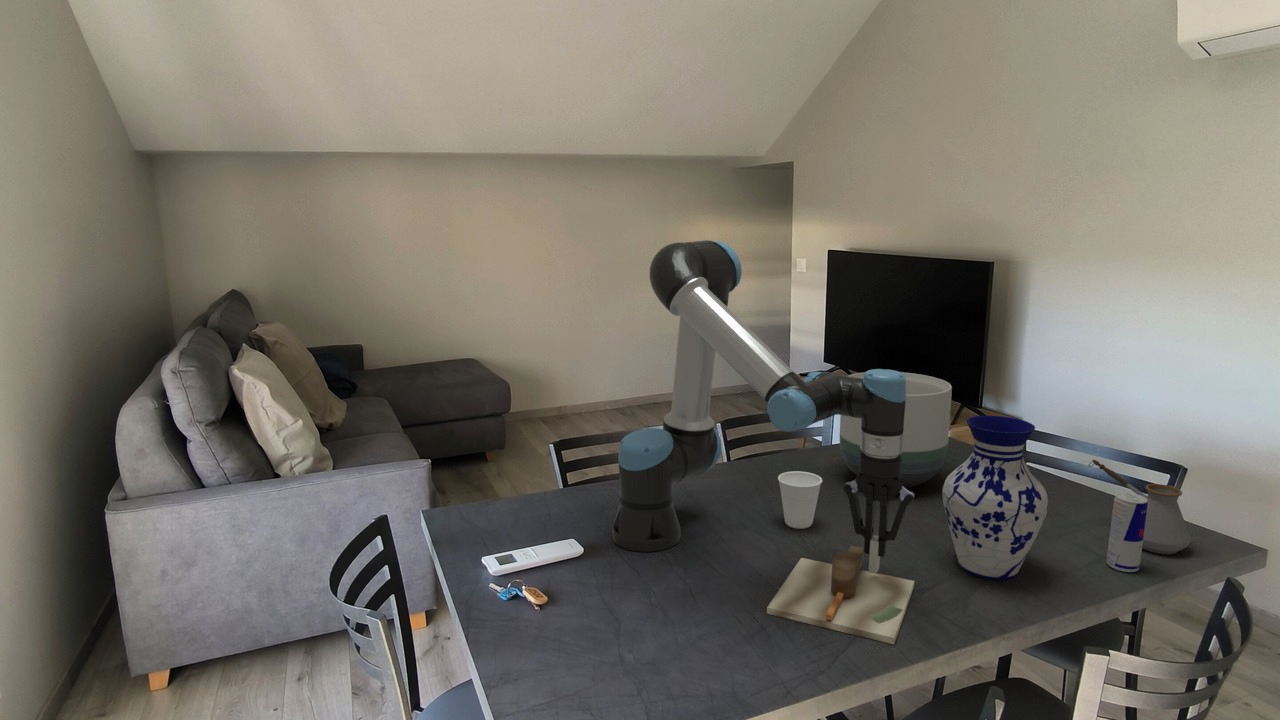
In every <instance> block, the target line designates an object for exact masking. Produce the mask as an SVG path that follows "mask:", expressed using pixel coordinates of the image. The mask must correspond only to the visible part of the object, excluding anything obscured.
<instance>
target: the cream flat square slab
mask: <svg viewBox="0 0 1280 720" xmlns="http://www.w3.org/2000/svg"><path fill="white" fill-rule="evenodd" d="M868 571H869V570H863V569H860V570H859V572H858V574H857V576H856V594H855V595H854V596H853V597H849V598H843V599H842V601H841V603H840V604H839V606H838V608H837V610H836V612H835V614H834V616H833V618H832V620H829V619H826V613H827V611H828V610H829V608H830V606H831V604H832V602H833V600H834V598H835V596H836V595H834V594H833V593H832V592H831V579H832V563H829V562H824V561H819V560H814V559H809V558H803V557H800V559H799V560H798V562H797V563H796V565H795V566H794V567H793V569H792V570H791V572H790V574H789V575H788V576H787V578H785V580H784V582H783V584H782V585H781V586H780V588H779V589H778V591H777V592H776V593H775V595H774V597H772V600H771V601H770V603H769V604H768V605H767V607H766V614H768V615H772V616H775V617H780V618H783V619H788V620H791V621H797V622H800V623H804V624H809V625H812V626H817V627H820V628H824V629H828V630H832V631H838V632H842V633H845V634H848V635H853V636H857V637H861V638H865V639H870V640H872V641H873V640H874V641H879V642H882V643H885V644H889V645H895V643H896V640H897V637H898V635H899V632H900V629H901V626H902V623H903V619H904V617H905V613H906V611H907V610H908V609H907V608H908V605H909V602H910V600H911V596H912V594H913V590H914V589H915V580H911V579H906V578H902V577H897V576H892V575H887V574H884V573H878V572H877V574H875V573H870V572H868Z"/></svg>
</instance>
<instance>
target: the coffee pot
mask: <svg viewBox="0 0 1280 720" xmlns="http://www.w3.org/2000/svg"><path fill="white" fill-rule="evenodd" d="M1092 463H1093V464H1092ZM1091 464H1092V465H1091ZM1094 465H1095V466H1098V467H1099V469H1100V470H1102V471H1104V472H1105V473H1106V474H1107V475H1108V476H1110V477H1111V478H1112V479H1113V480H1115V481H1116V482H1118V483H1121V485H1123V486H1125V487H1127V488H1128V489H1130V490H1131V491H1132V493H1133V492H1134V494H1138V495H1141V496H1143V497H1145V498H1146V499H1147V504H1148V506H1147V514H1146V522H1145V529H1144V537H1143V545H1142V550H1145V551H1147V552H1151V553H1156V554H1161V555H1173V554H1177V553H1178V552H1179V551H1180V552H1181V551H1182V550H1185V549H1186V548H1187V547H1188V546H1189V545H1190V544H1191V542H1192V541H1191V540H1192V539H1191V535H1190V532H1189V531H1188V528H1187V525H1186V521H1185V519H1184V517H1183V514H1182V511H1181V508H1180V505H1179V503H1178V499H1179V497H1181V496H1182V494H1183V491H1182V490H1181V489H1179V488H1177V487H1174V486H1173V485H1168V484H1161V483H1160V484H1159V483H1149V484H1146V485H1145V486H1144V487H1145V490H1146V491H1147V495H1146V494H1145V493H1143V492H1142V491H1140V490H1139V489H1138V488H1136V487H1135V486H1133V485H1131V484H1130V483H1129V482H1128V481H1127V480H1125V479H1124V478H1123V477H1122V476H1120V475H1119V474H1117V473H1116V472H1115V471H1114V470H1112V469H1110V468H1108V467H1106V466H1105V464H1104V463H1103V464H1102V463H1100V462H1099V461H1097V460H1096V459H1092V461H1091V462H1089V464H1088V467H1089V468H1092V467H1093V466H1094Z"/></svg>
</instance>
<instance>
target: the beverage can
mask: <svg viewBox="0 0 1280 720" xmlns="http://www.w3.org/2000/svg"><path fill="white" fill-rule="evenodd" d="M1114 496H1115V497H1114V498H1113V505H1112V514H1111V522H1110V530H1109V538H1108V545H1107V546H1108V547H1107V555H1106V564H1108V566H1109V567H1111V568H1112V569H1114V570H1117V571H1118V572H1119V571H1120V572H1123V573H1124V572H1125V573H1135V572H1138V571H1139V570H1140V568H1141V567H1140V566H1141V560H1142V559H1141V557H1142V551H1143V549H1142V545H1143V537H1144V529H1145V522H1146V514H1147V506H1148V504H1147V499H1146V498H1145V497H1143V496H1141V495H1138V494H1136V493H1135V492H1134V493H1133V492H1125V491H1124V492H1123V491H1122V492H1121V491H1120V492H1116V493H1115V495H1114Z"/></svg>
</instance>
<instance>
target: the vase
mask: <svg viewBox="0 0 1280 720" xmlns="http://www.w3.org/2000/svg"><path fill="white" fill-rule="evenodd" d="M966 424H967V426H968V428H969V429H970V432H971V434H972V437H973V442H974V443H973V445H974V446H973V449H972V453H971V455H969V457H968V458H967V459H966V460H965V461H964V462H963V463H961V464H960V465H959V466H958V467H957V468H955V469H954V470H953V471H951V473H950V474H949V475H947V477H946V479H945V480H944V484H943V486H942V502H943V508H944V512H945V517H946V520H947V525H948V528H949V532H950V536H951V540H952V543H953V546H954V549H955V554H956V558H957V562H958V565H959V566H960V568H961V569H963V570H964V571H965V572H966V573H968V574H971V575H972V576H976V577H979V578H982V579H987V580H994V581H1004V580H1005V581H1006V580H1010V579H1013V578H1015V577H1016V576H1018V574H1019V571H1020V570H1021V567H1022V565H1023V563H1024V561H1025V559H1026V558H1027V555H1028V554H1029V552H1030V550H1031V548H1032V546H1033V544H1034V542H1035V540H1036V538H1037V537H1038V534H1039V532H1040V530H1041V528H1042V525H1043V524H1044V521H1045V520H1046V516H1047V514H1048V509H1049V498H1048V494H1047V492H1046V489H1045V487H1044V486H1043V484H1042V483H1041V482H1040V480H1039V479H1038V478H1037V477H1036V475H1034V473H1033V472H1032V471H1031V470H1030V469H1029V467H1028V465H1027V463H1026V461H1025V459H1024V455H1023V454H1024V453H1023V452H1024V447H1025V445H1026V442H1027V441H1028V439H1029V438H1030V436H1031V435H1032V434H1033V432H1034V431H1035V429H1036V426H1035V425H1034V424H1033V423H1031V422H1029V421H1026V420H1023V419H1019V418H1014V417H1010V416H1004V415H1003V416H1002V415H976V416H971V417H968V418H967V419H966Z"/></svg>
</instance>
